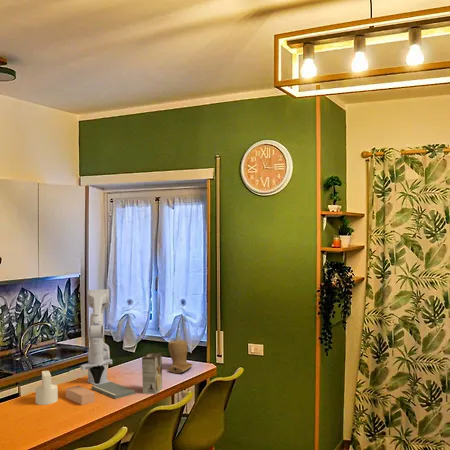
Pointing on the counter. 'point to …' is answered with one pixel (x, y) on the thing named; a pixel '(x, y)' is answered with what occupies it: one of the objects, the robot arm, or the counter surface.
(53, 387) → the base with upright slab
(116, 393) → the board
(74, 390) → the tan rectangular block
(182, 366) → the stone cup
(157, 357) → the coffee box
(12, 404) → the counter surface
